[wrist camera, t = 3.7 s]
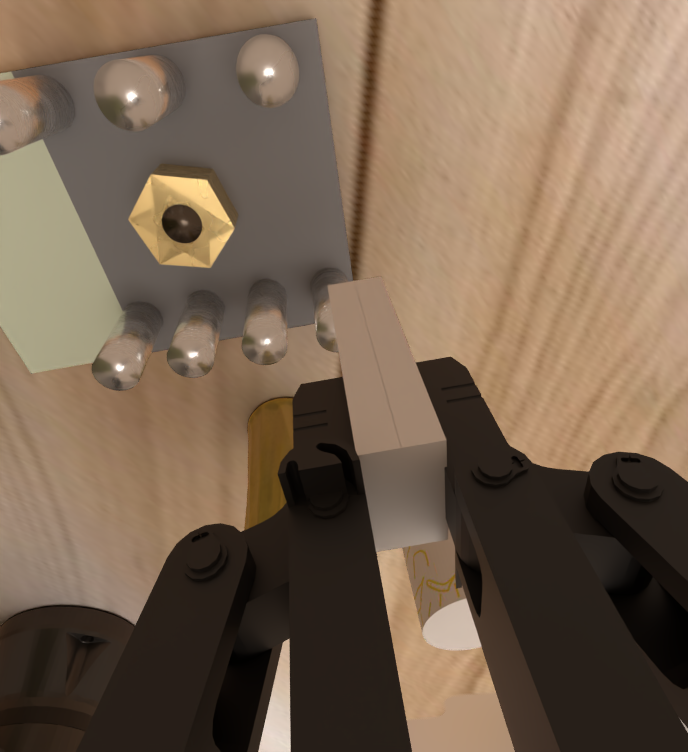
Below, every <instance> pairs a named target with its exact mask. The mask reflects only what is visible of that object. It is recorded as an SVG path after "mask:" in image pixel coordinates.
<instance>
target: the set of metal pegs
mask: <svg viewBox="0 0 688 752" xmlns="http://www.w3.org/2000/svg"><path fill="white" fill-rule="evenodd" d="M236 73H237V79H238V82H239V85H240V87H241V89H242V91H243V92H244V94H245V95H246V96H247V97H248V98H249V99H250V100H251V101H252V102H254V103H255V104H257V105H259V106H262V107H266V108H275V107H279V106H281V105H283V104H285V103H286V102H287V101H289V100H290V99H291V97H292V96H293V95H294V93H295V91H296V89H297V86H298V82H299V66H298V62H297V59H296V57H295V54H294V53H293V51H292V49H291V48H290V47H289V45H288V44H287V43H286V42H285V41H284V40H282V39H281V38H279V37H277V36H274V35H269V34H261V35H257V36H254V37H252V38H251V39H249V40H248V41H247V42H246V43H245V44H244V45H243V46H242V48H241V50H240V52H239V54H238V58H237V63H236ZM94 95H95V99H96V102H97V105H98V107H99V109H100V110H101V112H102V113H103V115H104V116H105V117H106V118H107V119H108V120H109V121H110V122H111V123H113V124H114V125H115V126H117V127H119V128H121V129H123V130H127V131H134V132H136V131H142V130H145V129H147V128H149V127H150V126H152V125H153V124H155V123H156V122H158V121H159V120H161V119H162V118H164V117H165V116H167V115H168V114H169V113H171V112H172V111H174V110H175V109H177V108H178V107H179V106H180V105H181V103H182V102H183V100H184V96H185V82H184V79H183V76H182V74H181V72H180V70H179V69H178V68H177V66H176V65H175V64H174V63H173V62H171V61H170V60H169V59H167V58H165V57H163V56H159V55H148V56H141V57H133V58H125V59H118V60H112V61H109V62H107V63H105V64H104V65H103V66H101V67H100V69H99V70H98V72H97V74H96V76H95V79H94ZM74 118H75V106H74V102H73V100H72V97H71V96H70V94H69V92H68V91H67V90H66V88H65V87H64V86H63V85H62V84H61V83H59V82H58V81H56V80H55V79H53V78H51V77H48V76H45V75H34V76H27V77H20V78H14V79H7V80H1V81H0V155H5V154H8V153H11V152H13V151H15V150H18V149H20V148H23V147H25V146H27V145H30V144H32V143H34V142H37V141H39V140H41V139H44V138H46V137H49V136H51V135H53V134H56V133H58V132H60V131H63V130H65V129H67V128H68V127H69V126H71V124H72V123H73V121H74ZM345 282H348V279H347V277H346V275H345V274H344V273H343V272H342V271H340V270H338V269H335V268H325V269H322V270H320V271H319V272H317V273H316V274H315V275H314V277H313V279H312V281H311V292H312V301H313V310H314V319H315V327H316V336H317V340H318V342H319V344H320V345H321V346H322V347H323V348H325V349H326V350H328V351H331V352H339V350H338V345H337V339H336V333H335V327H334V321H333V315H332V309H331V303H330V297H329V291H328V286H327V285H333V284H339V283H345ZM224 312H225V306H224V303H223V301H222V299H221V298H220V297H219V296H218V295H217V294H215V293H213V292H211V291H207V290H199V291H196V292H194V293H192V294H191V295H190V296H189V297H188V298H187V301H186V303H185V306H184V309H183V311H182V314H181V317H180V320H179V322H178V325H177V328H176V331H175V333H174V336H173V339H172V342H171V344H170V347H169V350H168V353H167V361H168V364H169V366H170V367H171V368H172V369H173V370H174V371H175V372H176V373H178V374H179V375H182V376H184V377H189V378H197V377H201V376H204V375H206V374H207V373H208V372H209V371H210V370H211V369H212V367H213V364H214V359H215V354H216V350H217V345H218V340H219V336H220V331H221V326H222V321H223V317H224ZM162 325H163V318H162V315H161V313H160V311H159V310H158V309H157V308H156V307H155V306H153V305H151V304H149V303H147V302H141V301H137V302H133V303H130V304H129V305H127V306H126V307H125V309H124V311H123V312H122V314H121V316H120V317H119V319H118V321H117V323H116V324H115V326H114V328H113V329H112V331H111V333H110V335H109V336H108V338H107V340H106V341H105V343H104V345H103V347H102V348H101V350H100V352H99V354H98V355H97V357H96V359H95V360H94V362H93V364H92V373H93V375H94V377H95V379H96V380H97V381H98V382H99V383H100V384H102V385H103V386H105V387H107V388H109V389H112V390H119V391H123V390H128V389H131V388H133V387H134V386H136V385H137V383H138V382H139V380H140V378H141V375H142V373H143V370H144V368H145V366H146V363H147V361H148V358H149V356H150V354H151V351H152V349H153V346H154V344H155V342H156V339H157V337H158V334H159V332H160V330H161V327H162ZM242 350H243V353H244V354H245V356H246V357H247V358H248V359H249V360H250V361H252V362H254V363H256V364H260V365H271V364H274V363H276V362H278V361H280V360H281V359H282V358H283V357H284V356H285V354H286V352H287V295H286V291H285V289H284V287H283V286H282V285H281V284H280V283H278V282H277V281H275V280H271V279H262V280H259V281H257V282H255V283H254V284H253V285H252V286H251V288H250V290H249V293H248V301H247V308H246V316H245V323H244V331H243V338H242Z"/></svg>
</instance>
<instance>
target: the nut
mask: <svg viewBox="0 0 688 752" xmlns="http://www.w3.org/2000/svg"><path fill="white" fill-rule="evenodd" d="M237 218H238V213H237V211H236V209H235V207H234V206H233V204H232V202H231V200H230V198H229V197H228V195H227V193H226V191H225V189H224V188H223V186H222V184H221V182H220V181H219V179H218V177H217V175H216V173H215V172H214V170H213V169H210V168H200V167H191V166H181V165H171V164H160V165H159V166H158V167H157V168H156V169H155V170H154V171H153V172H152V174H151V175H150V177H149V179H148V181H147V183H146V185H145V187H144V189H143V191H142V193H141V195H140V197H139V199H138V201H137V203H136V205H135V207H134V209H133V211H132V213H131V215H130V217H129V219H128V220H129V221H130V223H131V224H132V226H133V227H134V228H135V230H136V231H137V233H138V234H139V236H140V237H141V238H142V240H143V241H144V243H145V244H146V245H147V247H148V248H149V250H150V251H151V253H152V254H153V255H154V257H155V258H156V260H157V261H158V262H159V264H163V265H177V266H191V267H205V268H211V266H212V264H213V263H214V261H215V260H216V258H217V256H218V255H219V253H220V252H221V250H222V248H223V247H224V245H225V243H226V242H227V240H228V239H229V237H230V235H231V234H232V232H233V231H234V229H235V226H236V222H237Z"/></svg>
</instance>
